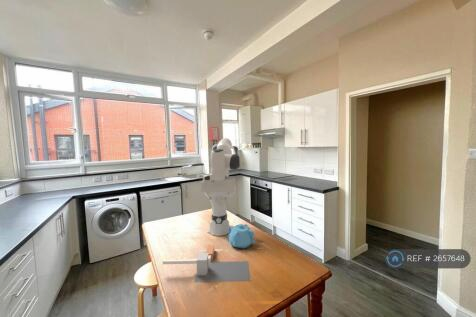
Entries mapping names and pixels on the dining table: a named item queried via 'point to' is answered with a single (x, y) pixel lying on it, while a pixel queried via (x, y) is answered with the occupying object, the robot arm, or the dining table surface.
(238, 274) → the board
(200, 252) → the white mat
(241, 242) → the decorative pot
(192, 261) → the bar
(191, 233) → the dining table surface
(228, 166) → the robot arm
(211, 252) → the salmon orange rectangular block
